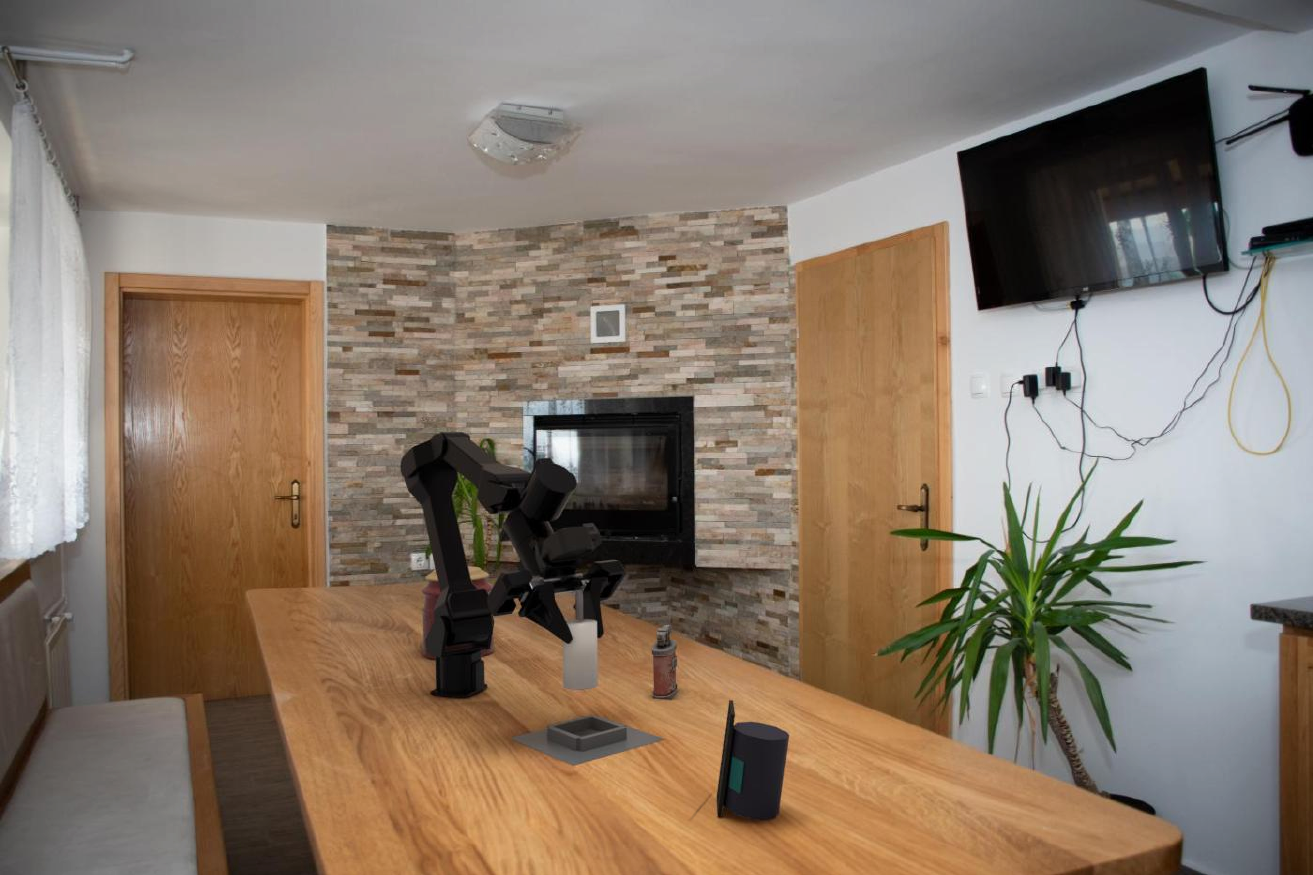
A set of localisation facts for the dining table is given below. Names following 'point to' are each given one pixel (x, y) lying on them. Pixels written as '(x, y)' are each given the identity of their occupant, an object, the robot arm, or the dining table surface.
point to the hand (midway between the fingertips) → (586, 638)
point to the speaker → (751, 768)
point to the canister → (431, 598)
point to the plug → (580, 651)
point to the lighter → (664, 665)
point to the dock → (585, 739)
